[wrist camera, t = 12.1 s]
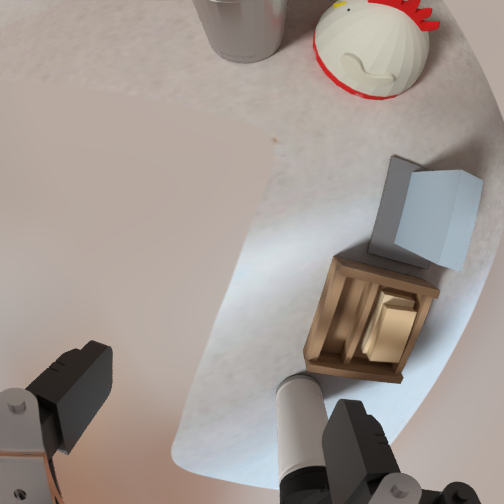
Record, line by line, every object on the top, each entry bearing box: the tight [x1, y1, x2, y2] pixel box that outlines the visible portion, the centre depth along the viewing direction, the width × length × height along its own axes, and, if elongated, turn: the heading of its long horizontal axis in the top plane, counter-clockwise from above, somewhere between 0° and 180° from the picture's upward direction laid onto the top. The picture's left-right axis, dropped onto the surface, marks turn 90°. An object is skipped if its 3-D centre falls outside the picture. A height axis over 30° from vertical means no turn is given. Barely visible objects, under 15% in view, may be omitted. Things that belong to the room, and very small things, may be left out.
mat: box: [367, 156, 431, 269], centre depth 35 cm, size 12×9×1 cm
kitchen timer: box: [313, 0, 440, 100], centre depth 24 cm, size 14×14×15 cm
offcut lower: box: [360, 290, 415, 354], centre depth 37 cm, size 8×4×2 cm, turn 167°
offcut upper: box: [366, 304, 417, 363], centre depth 35 cm, size 7×4×2 cm, turn 171°
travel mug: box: [276, 375, 332, 504], centre depth 31 cm, size 6×7×20 cm
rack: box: [303, 256, 440, 384], centre depth 36 cm, size 13×13×5 cm
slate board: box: [394, 170, 484, 272], centre depth 29 cm, size 9×3×11 cm, turn 166°
